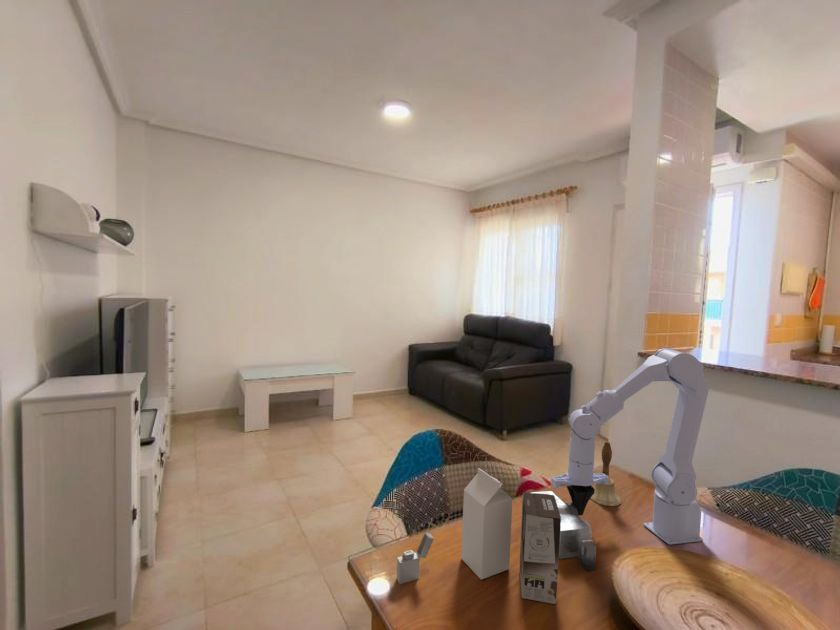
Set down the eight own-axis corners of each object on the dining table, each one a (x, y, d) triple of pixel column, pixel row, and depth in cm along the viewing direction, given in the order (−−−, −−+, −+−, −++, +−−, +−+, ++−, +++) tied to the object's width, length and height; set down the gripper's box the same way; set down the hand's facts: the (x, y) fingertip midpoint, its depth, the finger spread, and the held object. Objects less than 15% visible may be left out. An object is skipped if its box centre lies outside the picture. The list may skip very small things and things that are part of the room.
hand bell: (581, 492, 114) (585, 438, 113) (606, 490, 116) (609, 436, 115) (601, 508, 106) (605, 449, 105) (628, 505, 108) (631, 447, 107)
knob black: (568, 514, 100) (569, 499, 100) (577, 524, 96) (578, 508, 96) (540, 517, 98) (541, 501, 98) (549, 527, 94) (550, 510, 94)
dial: (589, 560, 84) (590, 535, 84) (598, 570, 82) (599, 544, 81) (576, 562, 84) (577, 536, 83) (584, 572, 81) (586, 545, 81)
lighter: (399, 584, 76) (400, 544, 75) (396, 578, 77) (397, 538, 77) (432, 574, 79) (434, 535, 78) (428, 568, 80) (430, 530, 80)
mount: (550, 514, 102) (551, 490, 101) (588, 555, 86) (590, 527, 86) (524, 516, 100) (525, 492, 100) (559, 558, 85) (561, 530, 84)
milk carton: (481, 581, 77) (485, 486, 76) (460, 558, 84) (464, 471, 83) (509, 570, 81) (513, 479, 80) (488, 549, 87) (491, 465, 86)
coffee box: (557, 605, 72) (562, 519, 71) (520, 598, 73) (524, 514, 72) (551, 571, 81) (555, 494, 80) (518, 565, 82) (522, 490, 81)
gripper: (597, 451, 103) (594, 502, 104) (545, 454, 100) (543, 506, 101) (615, 463, 96) (612, 517, 97) (561, 466, 93) (558, 522, 94)
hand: (578, 513), depth 98 cm, fingers closed
